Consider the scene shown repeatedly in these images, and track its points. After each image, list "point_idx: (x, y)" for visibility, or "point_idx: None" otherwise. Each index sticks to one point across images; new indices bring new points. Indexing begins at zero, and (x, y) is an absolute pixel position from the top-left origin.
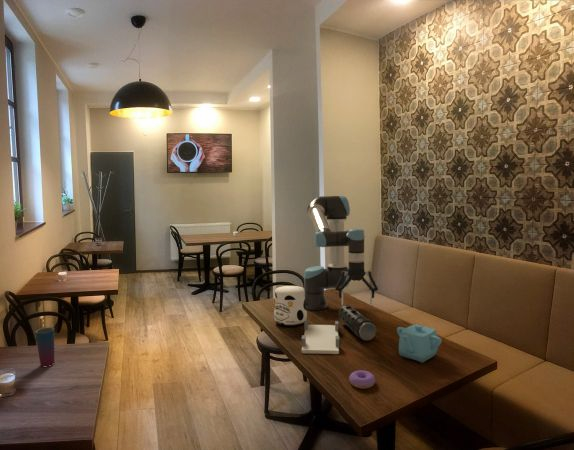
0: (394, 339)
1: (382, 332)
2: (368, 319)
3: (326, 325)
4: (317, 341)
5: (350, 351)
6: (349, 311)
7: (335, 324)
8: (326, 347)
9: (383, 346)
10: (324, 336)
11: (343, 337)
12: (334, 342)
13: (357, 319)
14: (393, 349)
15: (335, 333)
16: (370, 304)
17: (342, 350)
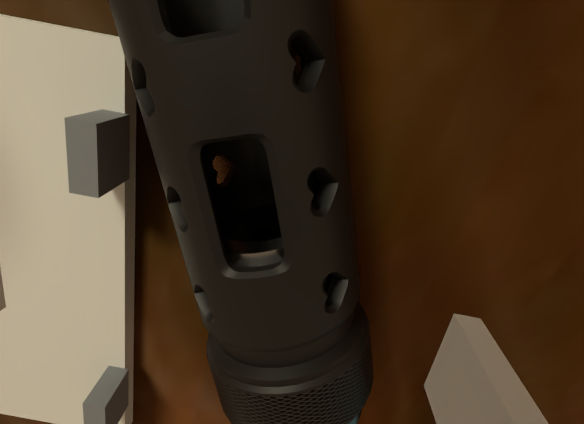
0: (487, 313)
1: (471, 188)
2: (323, 414)
3: (24, 32)
4: (3, 327)
5: (190, 406)
6: (175, 128)
7: (75, 191)
8: (62, 399)
9: (374, 384)
10: (35, 265)
11: (170, 238)
12: (102, 353)
13: (234, 347)
14: (410, 420)
15: (106, 226)
16: (430, 397)
17: (152, 392)
